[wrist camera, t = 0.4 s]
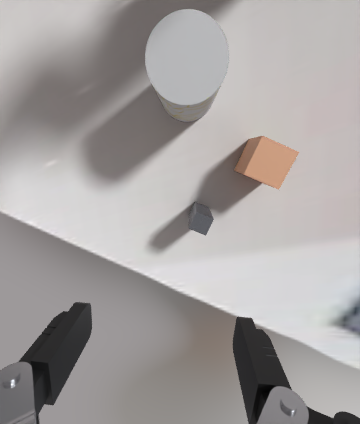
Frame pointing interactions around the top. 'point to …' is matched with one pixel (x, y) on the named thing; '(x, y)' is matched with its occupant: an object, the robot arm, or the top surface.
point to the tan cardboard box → (266, 161)
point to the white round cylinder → (187, 62)
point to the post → (200, 218)
